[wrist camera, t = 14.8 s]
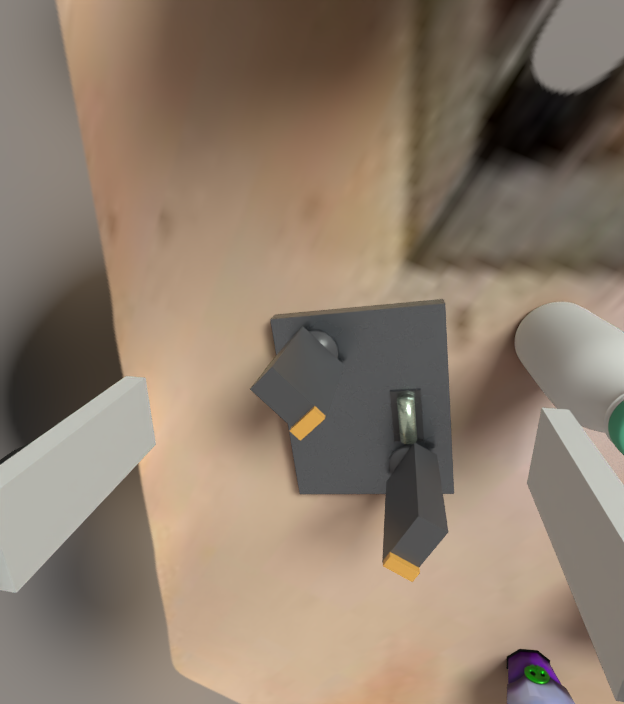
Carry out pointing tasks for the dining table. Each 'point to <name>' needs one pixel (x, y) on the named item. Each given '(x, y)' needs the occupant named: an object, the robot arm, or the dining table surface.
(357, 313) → the levelling plate
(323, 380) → the yellow-tipped grey bar
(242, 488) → the dining table surface
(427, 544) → the knob
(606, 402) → the milk bottle
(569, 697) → the potion bottle
